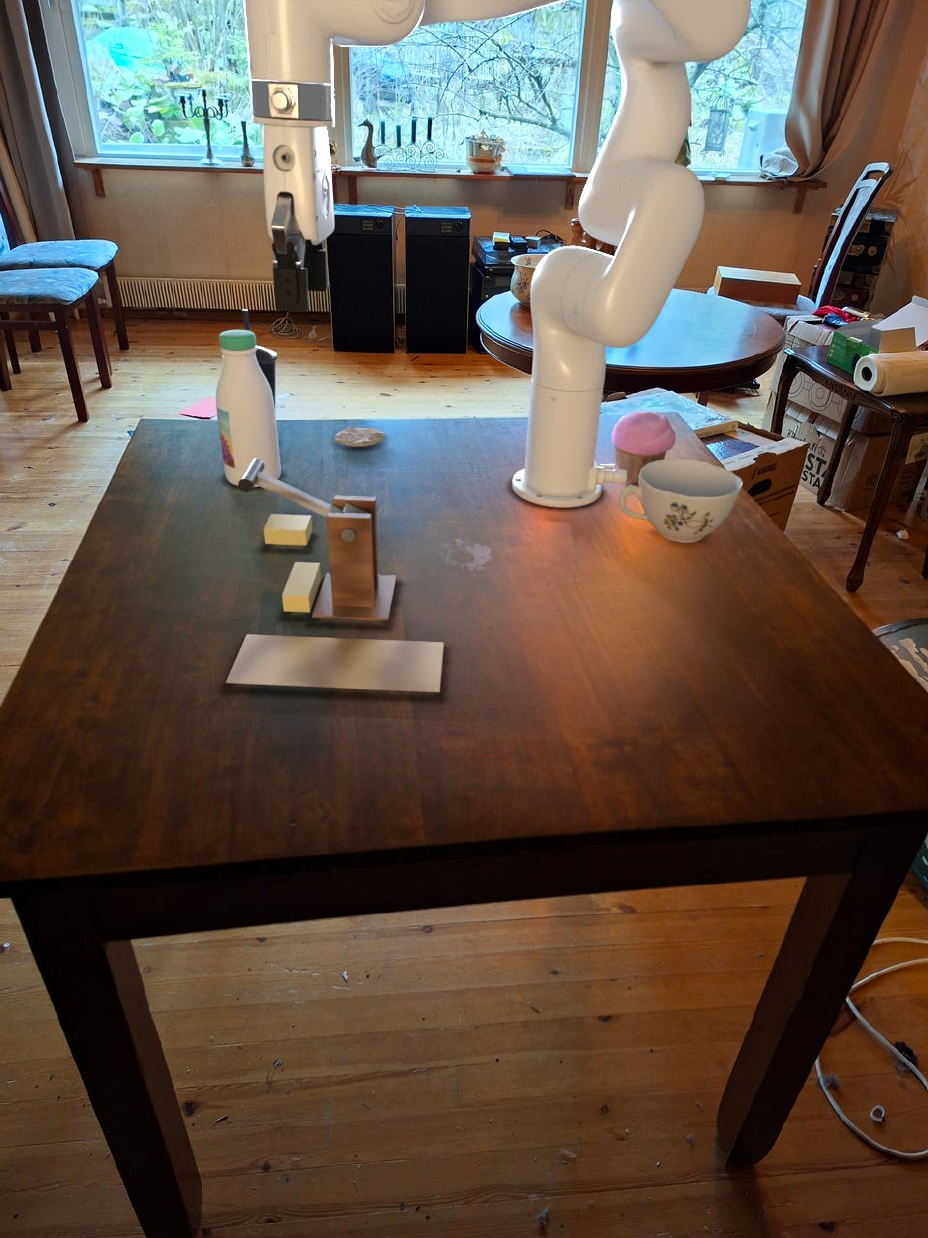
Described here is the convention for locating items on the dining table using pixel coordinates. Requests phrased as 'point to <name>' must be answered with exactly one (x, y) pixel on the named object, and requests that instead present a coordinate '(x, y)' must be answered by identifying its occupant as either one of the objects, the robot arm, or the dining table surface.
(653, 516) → the teacup
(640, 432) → the cupcake
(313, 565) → the butter stick
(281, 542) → the butter pat
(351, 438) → the flatbread
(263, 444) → the milk bottle
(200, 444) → the dining table surface
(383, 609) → the wooden stand
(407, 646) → the serving board
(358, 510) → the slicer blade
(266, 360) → the drinking cup
